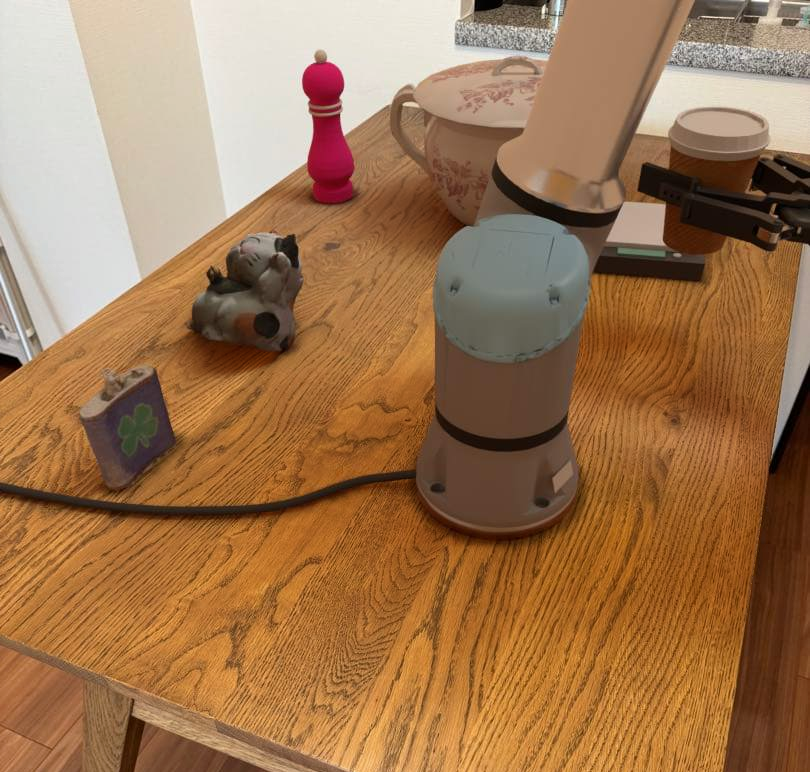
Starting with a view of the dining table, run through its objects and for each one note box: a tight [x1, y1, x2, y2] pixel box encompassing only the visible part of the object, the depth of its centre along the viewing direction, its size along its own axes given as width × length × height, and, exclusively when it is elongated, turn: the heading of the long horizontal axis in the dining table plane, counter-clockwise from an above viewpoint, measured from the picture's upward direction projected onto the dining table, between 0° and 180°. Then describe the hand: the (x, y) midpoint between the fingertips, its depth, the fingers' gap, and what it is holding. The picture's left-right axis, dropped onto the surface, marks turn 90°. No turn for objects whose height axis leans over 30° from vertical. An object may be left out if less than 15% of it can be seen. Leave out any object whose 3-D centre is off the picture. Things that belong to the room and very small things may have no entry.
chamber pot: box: [388, 55, 548, 227], centre depth 109 cm, size 28×28×21 cm
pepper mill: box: [301, 48, 356, 204], centre depth 115 cm, size 7×7×20 cm
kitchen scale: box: [593, 200, 706, 282], centre depth 106 cm, size 16×16×3 cm
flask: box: [78, 364, 177, 493], centre depth 74 cm, size 9×3×11 cm, turn 151°
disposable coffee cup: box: [663, 105, 771, 255], centre depth 79 cm, size 10×10×12 cm
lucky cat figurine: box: [186, 229, 305, 352], centre depth 90 cm, size 15×12×14 cm
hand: (670, 165), depth 82 cm, fingers closed on disposable coffee cup, 8 cm apart
